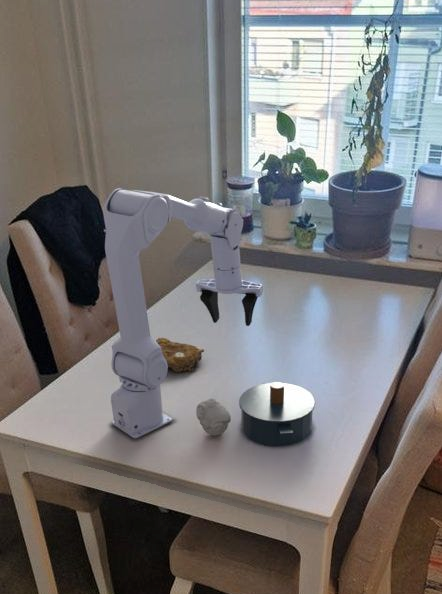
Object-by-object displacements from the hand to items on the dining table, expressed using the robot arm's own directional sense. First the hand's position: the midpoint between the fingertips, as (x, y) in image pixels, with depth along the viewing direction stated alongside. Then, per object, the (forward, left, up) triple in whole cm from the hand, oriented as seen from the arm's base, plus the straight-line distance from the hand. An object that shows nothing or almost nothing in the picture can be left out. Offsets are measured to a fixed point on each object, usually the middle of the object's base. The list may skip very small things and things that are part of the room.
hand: (232, 322), depth 149 cm
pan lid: (-12, -26, -5) cm, 29 cm away
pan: (-12, -26, -10) cm, 30 cm away
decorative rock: (-9, +11, -11) cm, 18 cm away
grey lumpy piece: (-22, -19, -11) cm, 31 cm away
